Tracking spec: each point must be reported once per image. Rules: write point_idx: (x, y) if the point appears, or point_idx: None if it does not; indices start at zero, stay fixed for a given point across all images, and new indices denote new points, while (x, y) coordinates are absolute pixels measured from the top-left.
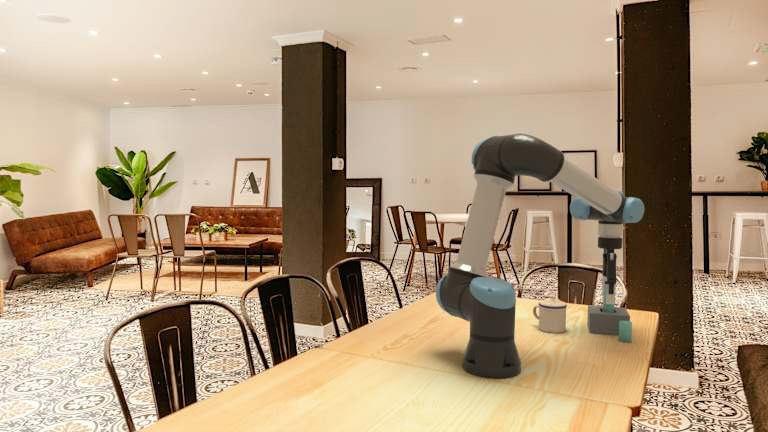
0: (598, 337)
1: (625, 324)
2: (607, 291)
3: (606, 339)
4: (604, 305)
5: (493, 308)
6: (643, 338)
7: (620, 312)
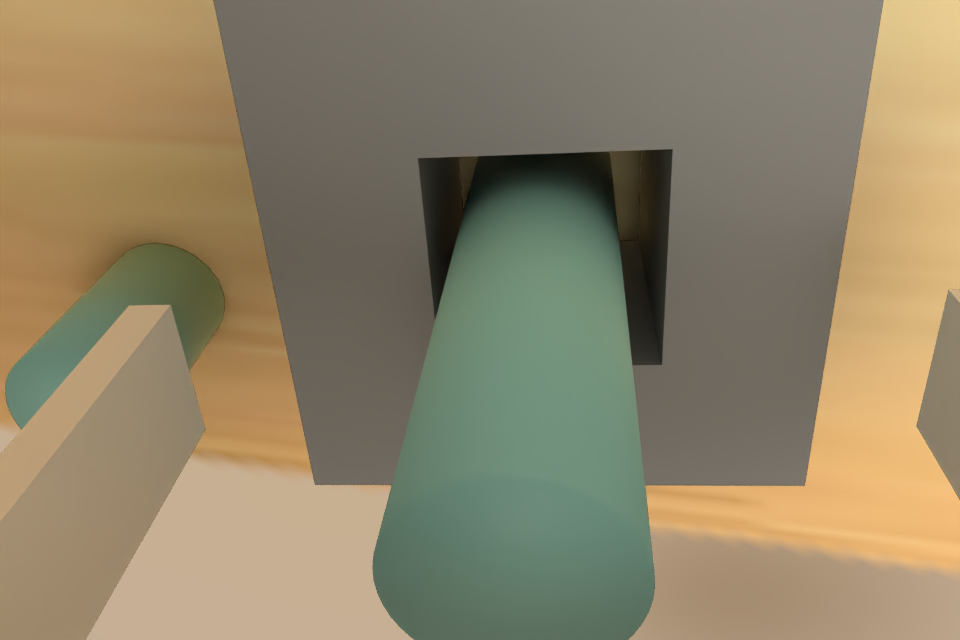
0: (146, 44)
1: (16, 394)
2: (10, 473)
3: (114, 128)
4: (468, 255)
5: None
6: None
7: None
